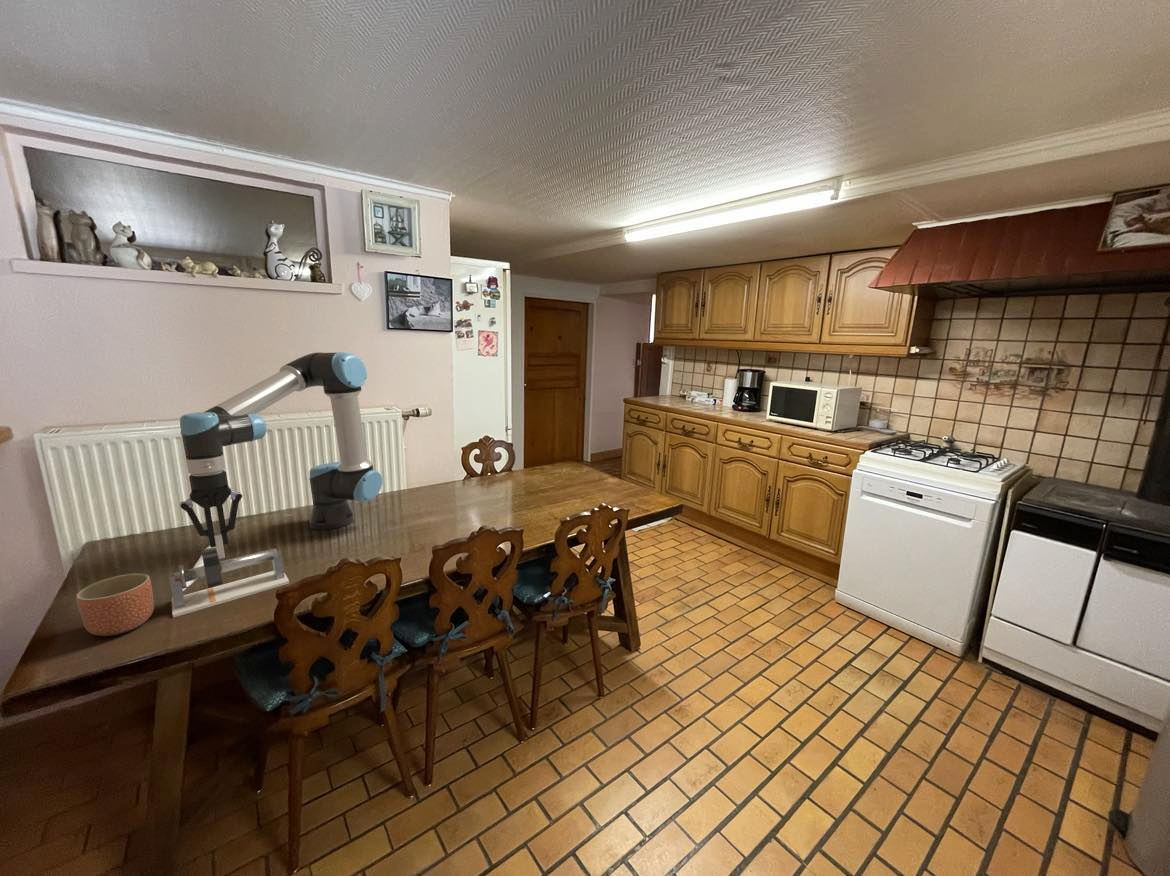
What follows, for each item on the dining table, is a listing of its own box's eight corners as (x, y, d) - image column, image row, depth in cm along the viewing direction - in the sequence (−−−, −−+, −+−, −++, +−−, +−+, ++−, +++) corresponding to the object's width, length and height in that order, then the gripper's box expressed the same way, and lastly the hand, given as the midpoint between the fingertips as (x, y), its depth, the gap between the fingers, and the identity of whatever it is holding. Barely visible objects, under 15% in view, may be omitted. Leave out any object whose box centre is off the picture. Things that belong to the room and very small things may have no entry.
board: (172, 601, 121) (171, 598, 121) (282, 570, 138) (282, 568, 138) (173, 617, 114) (172, 614, 114) (289, 583, 131) (289, 580, 131)
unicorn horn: (163, 596, 124) (160, 580, 123) (208, 558, 146) (206, 544, 146) (184, 594, 125) (181, 578, 124) (225, 556, 148) (223, 542, 147)
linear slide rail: (174, 603, 120) (167, 565, 118) (281, 573, 136) (277, 539, 134) (175, 613, 116) (167, 573, 114) (285, 581, 132) (281, 545, 130)
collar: (206, 578, 124) (201, 550, 123) (220, 574, 126) (215, 547, 125) (208, 588, 119) (203, 559, 118) (222, 584, 121) (218, 555, 120)
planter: (73, 636, 107) (63, 593, 105) (139, 608, 118) (131, 569, 116) (103, 648, 102) (93, 604, 100) (169, 618, 114) (161, 578, 112)
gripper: (174, 480, 111) (190, 569, 116) (240, 470, 120) (252, 554, 125) (173, 474, 117) (188, 559, 121) (236, 465, 125) (248, 545, 130)
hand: (221, 556), depth 123 cm, fingers closed
